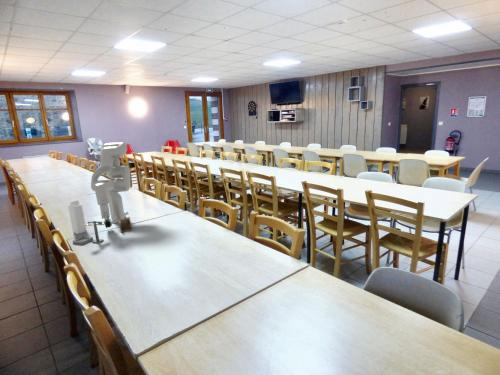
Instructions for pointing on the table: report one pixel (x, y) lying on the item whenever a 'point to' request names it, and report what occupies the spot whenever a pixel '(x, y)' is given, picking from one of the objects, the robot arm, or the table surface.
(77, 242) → the dish
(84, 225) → the balance beam
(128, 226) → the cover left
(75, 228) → the milk
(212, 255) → the table surface
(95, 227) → the balance stand
